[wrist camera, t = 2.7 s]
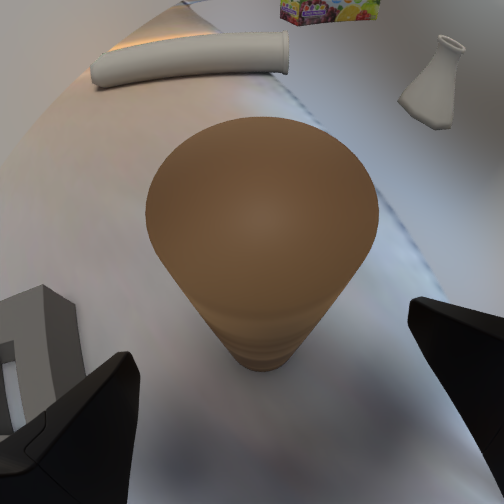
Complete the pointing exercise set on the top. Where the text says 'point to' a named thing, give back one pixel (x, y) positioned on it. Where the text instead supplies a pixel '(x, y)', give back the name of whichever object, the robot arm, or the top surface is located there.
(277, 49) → the tube
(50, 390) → the grey square socket block
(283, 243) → the tall pin
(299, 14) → the snack box
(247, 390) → the top surface
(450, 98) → the flask
